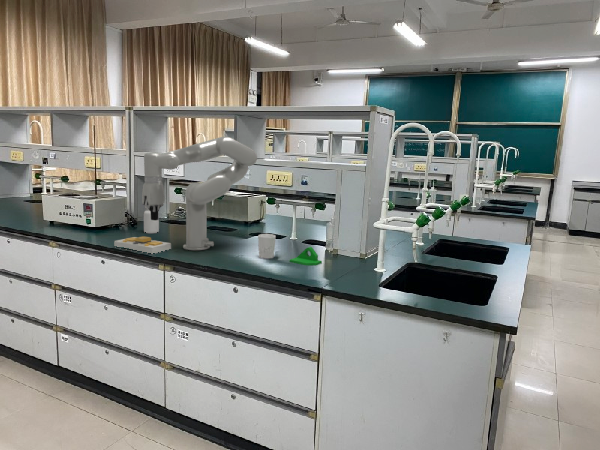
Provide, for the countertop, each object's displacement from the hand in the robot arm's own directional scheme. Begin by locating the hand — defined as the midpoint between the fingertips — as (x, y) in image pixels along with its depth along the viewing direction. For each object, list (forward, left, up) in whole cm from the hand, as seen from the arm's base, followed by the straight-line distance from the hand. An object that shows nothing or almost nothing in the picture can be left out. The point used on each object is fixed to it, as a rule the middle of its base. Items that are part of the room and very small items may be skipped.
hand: (154, 219), depth 208 cm
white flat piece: (+7, -1, -14) cm, 16 cm away
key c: (+14, -3, -14) cm, 20 cm away
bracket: (-72, -4, -15) cm, 73 cm away
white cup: (-52, -8, -15) cm, 55 cm away
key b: (+7, -1, -12) cm, 14 cm away
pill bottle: (+25, -37, -15) cm, 47 cm away
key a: (0, 0, -14) cm, 14 cm away
